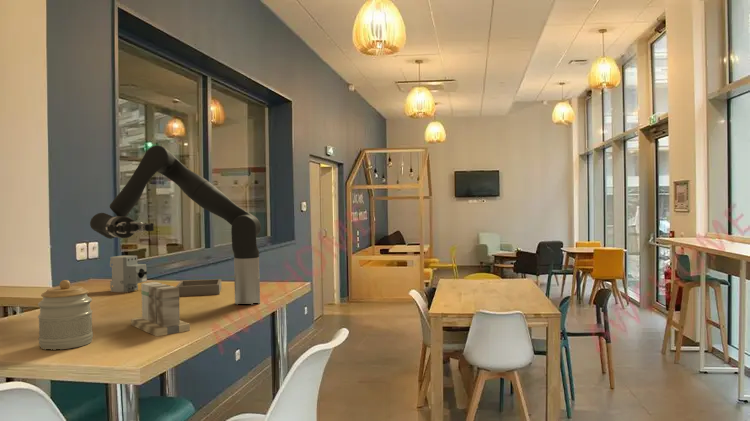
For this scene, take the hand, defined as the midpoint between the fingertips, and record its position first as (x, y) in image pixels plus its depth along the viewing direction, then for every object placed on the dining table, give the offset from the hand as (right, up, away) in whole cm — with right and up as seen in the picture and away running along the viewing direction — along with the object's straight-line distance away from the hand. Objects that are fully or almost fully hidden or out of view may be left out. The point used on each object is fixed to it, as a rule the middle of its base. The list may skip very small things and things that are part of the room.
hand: (137, 228), depth 182 cm
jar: (-6, -31, -30) cm, 44 cm away
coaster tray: (+3, -29, +54) cm, 61 cm away
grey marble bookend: (+12, -30, -12) cm, 34 cm away
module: (+8, -28, -8) cm, 30 cm away
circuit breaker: (-29, -29, +60) cm, 73 cm away
